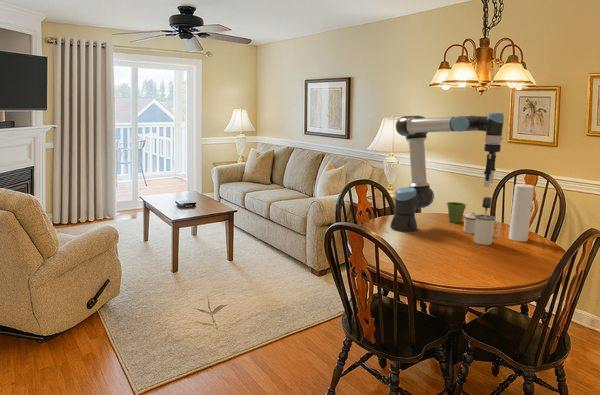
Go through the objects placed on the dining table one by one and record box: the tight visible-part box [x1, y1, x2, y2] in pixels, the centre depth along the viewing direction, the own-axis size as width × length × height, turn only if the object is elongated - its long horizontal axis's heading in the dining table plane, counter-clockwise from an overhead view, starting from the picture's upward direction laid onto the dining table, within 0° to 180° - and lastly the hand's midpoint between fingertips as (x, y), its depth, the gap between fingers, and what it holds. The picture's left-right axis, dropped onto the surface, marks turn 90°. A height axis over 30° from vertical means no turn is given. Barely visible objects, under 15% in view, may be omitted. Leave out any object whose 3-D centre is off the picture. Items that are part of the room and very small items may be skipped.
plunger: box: [481, 196, 492, 218], centre depth 244 cm, size 6×6×20 cm
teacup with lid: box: [462, 211, 478, 235], centre depth 266 cm, size 12×9×12 cm
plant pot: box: [446, 201, 468, 224], centre depth 287 cm, size 12×12×11 cm
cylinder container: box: [508, 183, 535, 242], centre depth 251 cm, size 9×9×30 cm
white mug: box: [473, 214, 501, 246], centre depth 244 cm, size 12×9×14 cm
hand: (488, 184), depth 240 cm, fingers open, 13 cm apart
